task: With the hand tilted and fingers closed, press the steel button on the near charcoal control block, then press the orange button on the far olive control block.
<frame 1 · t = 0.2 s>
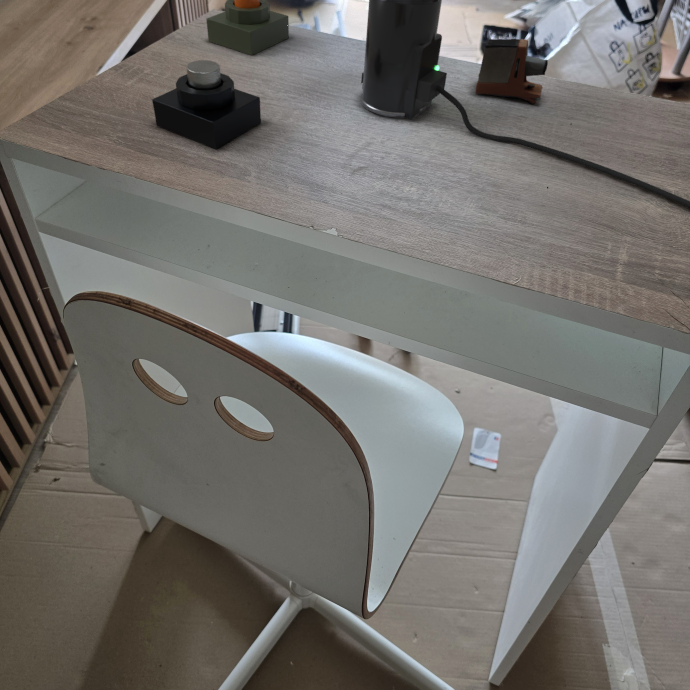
button near: (204, 76, 74), point 6 cm above the table, slide at 0.1 cm
block far: (249, 39, 100), on the table
block near: (209, 124, 79), on the table
electronic device: (507, 95, 91), on the table
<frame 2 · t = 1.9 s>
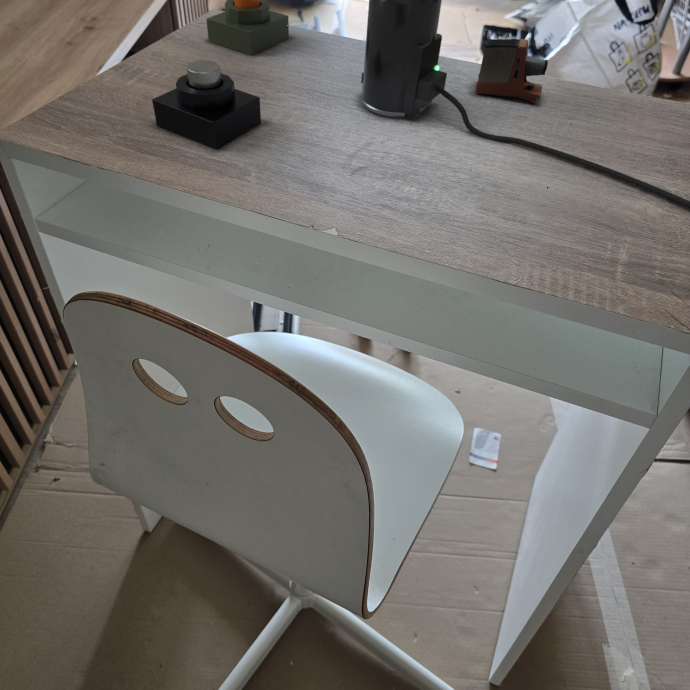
nothing on the table moved.
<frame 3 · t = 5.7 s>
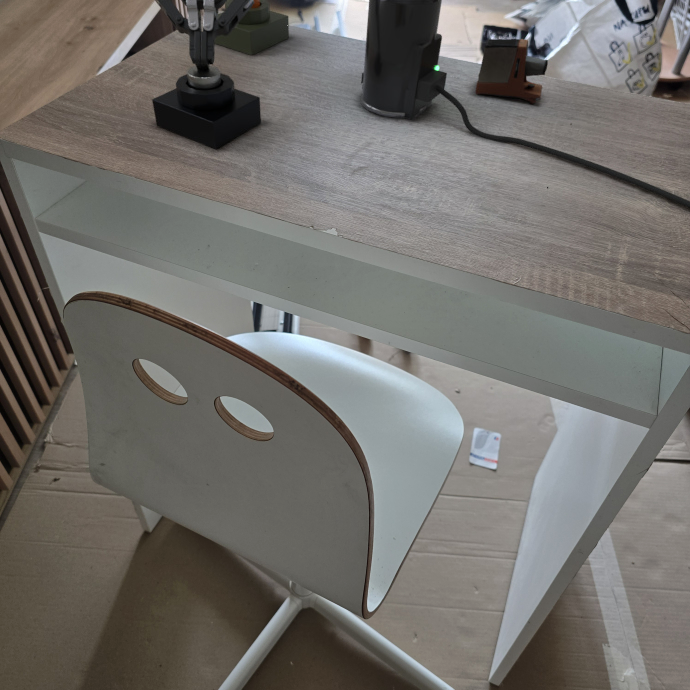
hand: (202, 66, 73), 7 cm above the table, tool tilted 45°, fingers closed
button near: (204, 80, 75), point 6 cm above the table, slide at -0.5 cm, touching gripper
everything else where it was.
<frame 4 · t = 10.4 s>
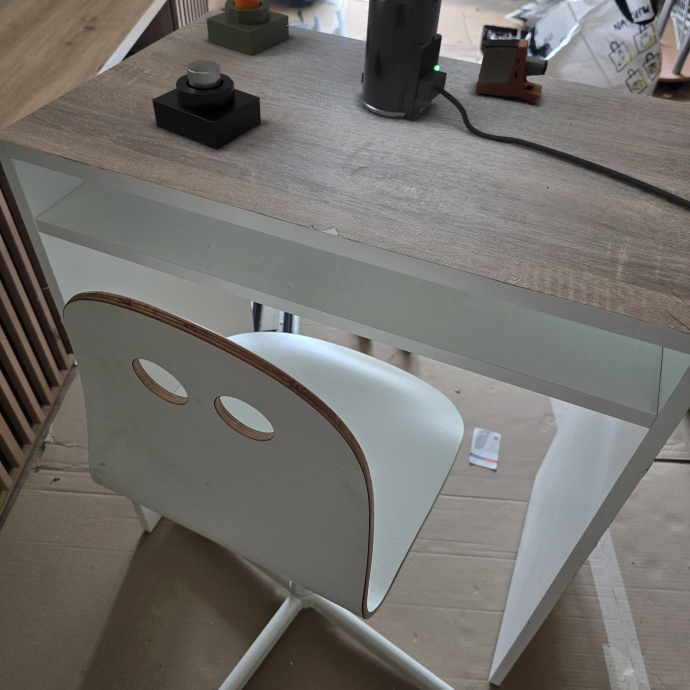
button near: (204, 76, 74), point 6 cm above the table, slide at 0.1 cm
everything else where it was.
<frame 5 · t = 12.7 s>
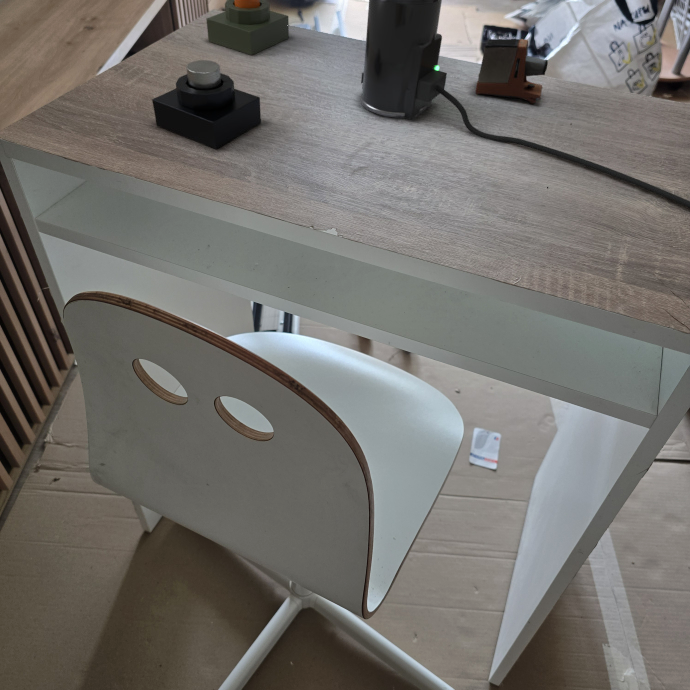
nothing on the table moved.
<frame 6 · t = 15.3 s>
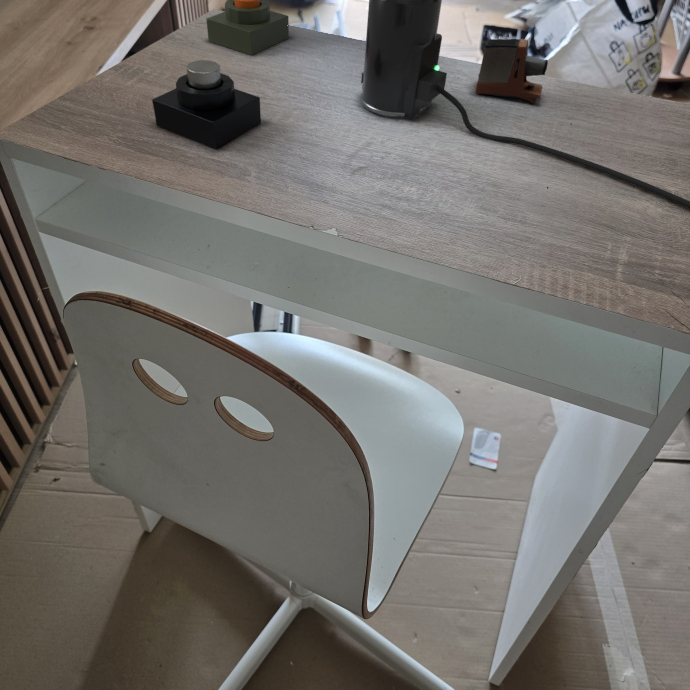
button far: (247, 5, 96), point 5 cm above the table, slide at -0.9 cm, touching gripper
everything else where it was.
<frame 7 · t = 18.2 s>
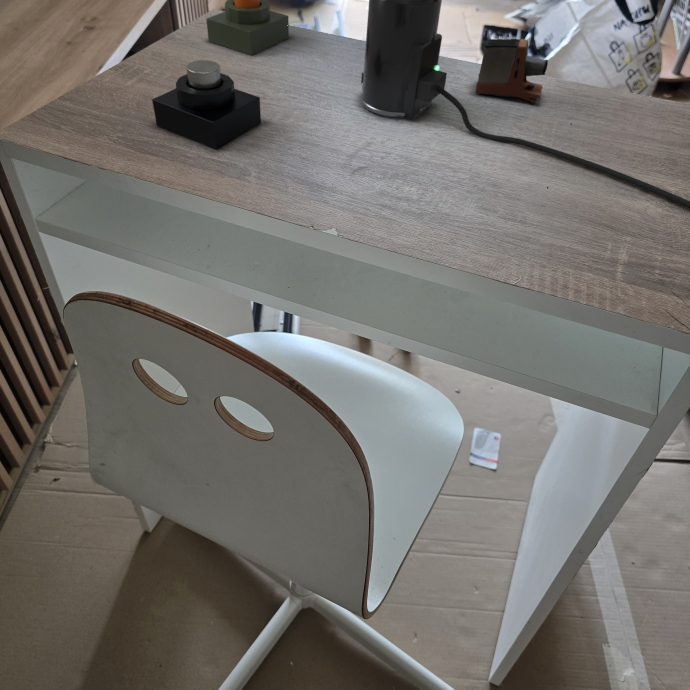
everything else where it was.
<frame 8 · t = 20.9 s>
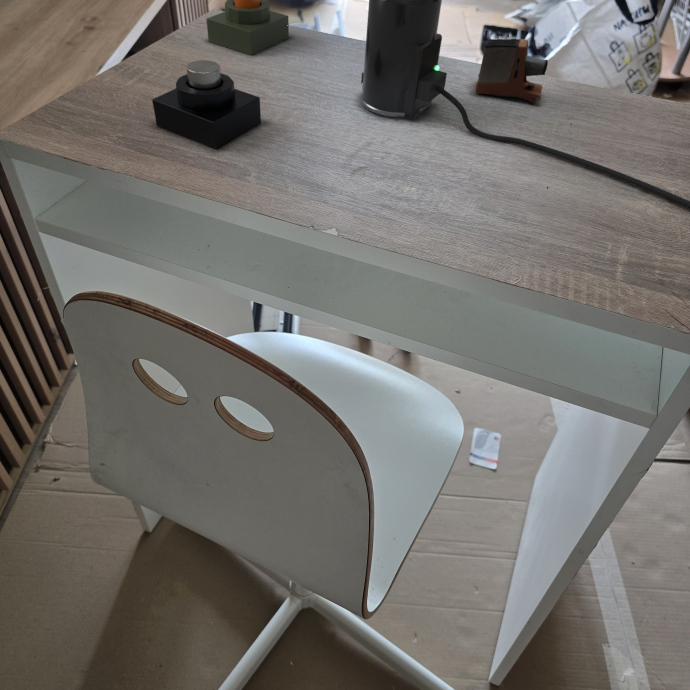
nothing on the table moved.
at the end: button near pushed in 1.5 cm at the most during the clip, back to where it started at the end; button far pushed in 1.5 cm at the most during the clip, back to where it started at the end; button far slide at 0.1 cm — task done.
